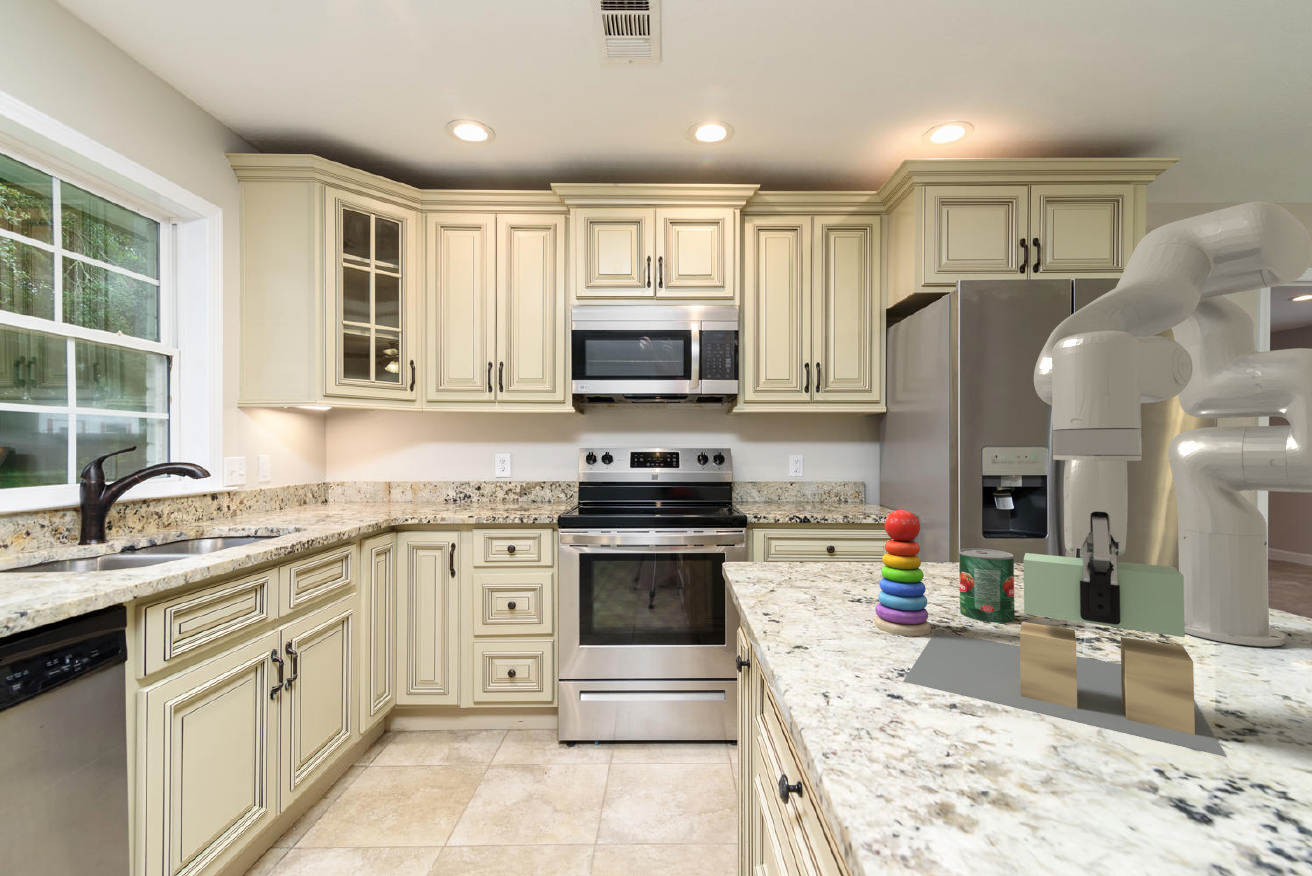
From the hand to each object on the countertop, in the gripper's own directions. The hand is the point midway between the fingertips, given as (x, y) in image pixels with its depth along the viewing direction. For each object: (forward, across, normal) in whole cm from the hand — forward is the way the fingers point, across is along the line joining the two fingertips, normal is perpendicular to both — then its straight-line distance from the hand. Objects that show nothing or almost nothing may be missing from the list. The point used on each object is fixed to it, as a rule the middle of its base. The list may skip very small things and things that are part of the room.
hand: (1098, 613), depth 59 cm
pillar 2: (+10, 0, +4) cm, 11 cm away
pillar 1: (+10, 0, -4) cm, 11 cm away
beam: (+1, 0, 0) cm, 1 cm away
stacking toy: (+11, -15, -23) cm, 30 cm away
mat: (+10, -5, -5) cm, 13 cm away
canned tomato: (+11, -30, -13) cm, 34 cm away
